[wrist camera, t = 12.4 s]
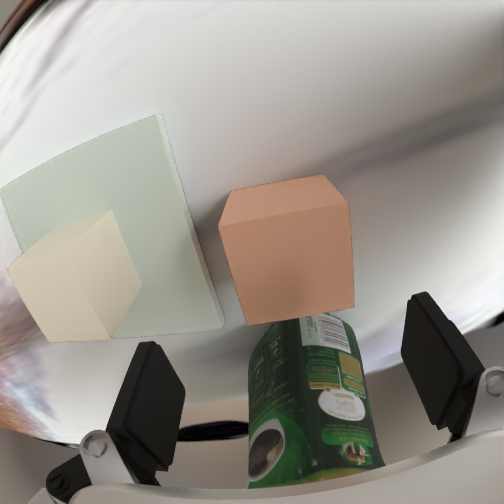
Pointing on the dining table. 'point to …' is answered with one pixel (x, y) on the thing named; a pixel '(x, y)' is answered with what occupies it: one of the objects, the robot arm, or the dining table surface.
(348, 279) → the terracotta block
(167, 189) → the board
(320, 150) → the dining table surface
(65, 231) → the cream block
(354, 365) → the coffee jar
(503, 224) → the dining table surface
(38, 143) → the dining table surface
